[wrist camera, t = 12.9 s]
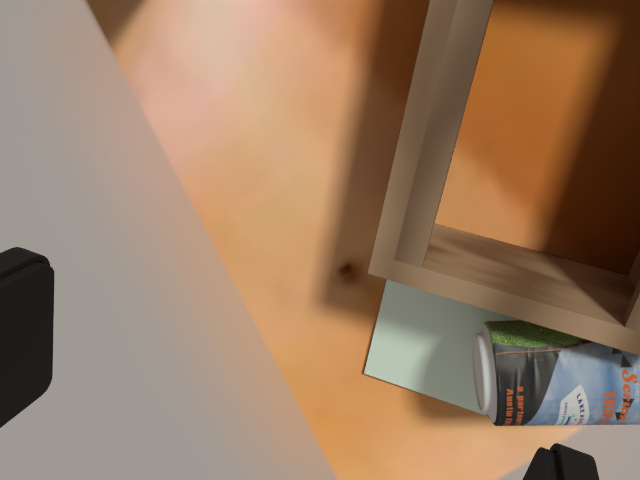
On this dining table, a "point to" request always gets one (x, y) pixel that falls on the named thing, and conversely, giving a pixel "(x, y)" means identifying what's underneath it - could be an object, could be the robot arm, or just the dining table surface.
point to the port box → (469, 249)
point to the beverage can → (552, 377)
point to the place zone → (427, 343)
